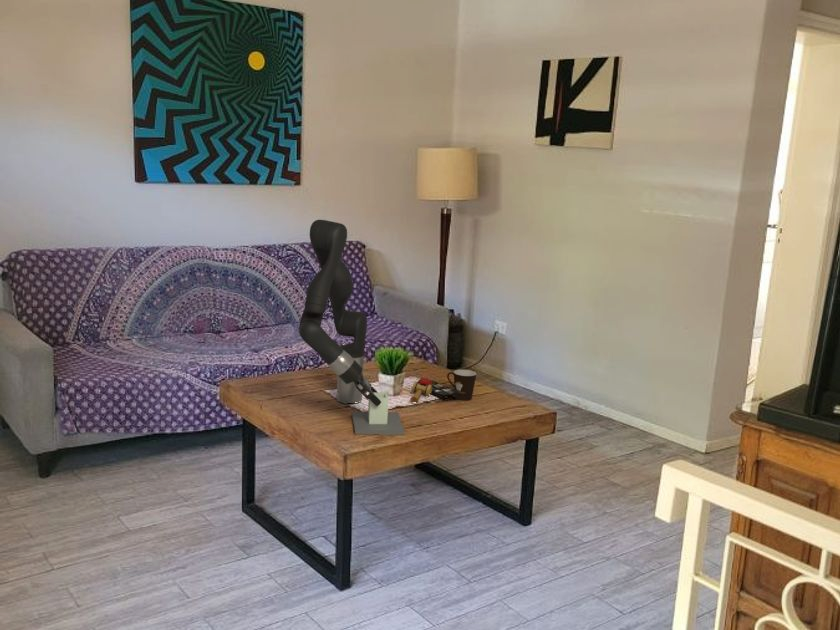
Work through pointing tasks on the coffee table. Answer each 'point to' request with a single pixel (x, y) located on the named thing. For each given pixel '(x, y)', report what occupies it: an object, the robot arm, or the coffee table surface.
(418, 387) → the kendama
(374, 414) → the collar
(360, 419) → the hub stand
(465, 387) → the coffee mug
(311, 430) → the coffee table surface
